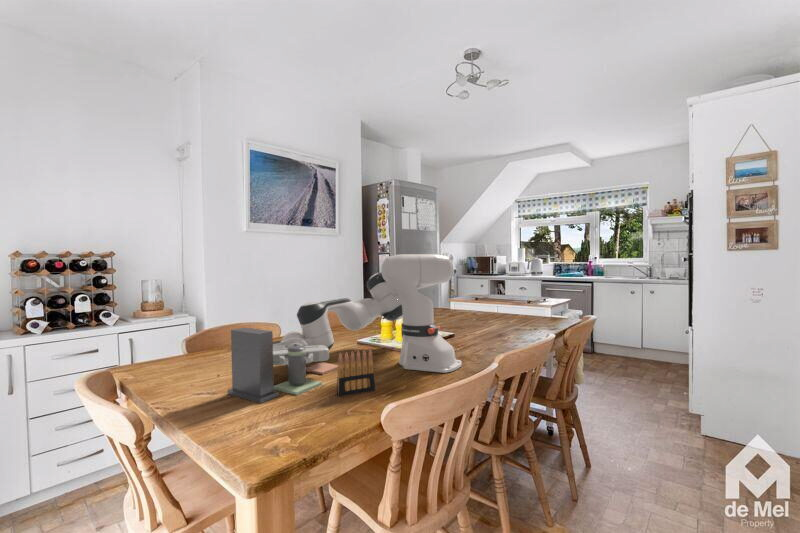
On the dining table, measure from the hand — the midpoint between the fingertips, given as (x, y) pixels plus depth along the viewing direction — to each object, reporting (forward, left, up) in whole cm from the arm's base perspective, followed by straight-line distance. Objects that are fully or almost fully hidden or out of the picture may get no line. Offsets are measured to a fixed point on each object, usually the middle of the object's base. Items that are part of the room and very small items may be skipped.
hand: (297, 361), depth 114 cm
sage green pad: (+1, -1, -8) cm, 8 cm away
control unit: (+7, +10, -8) cm, 15 cm away
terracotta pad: (+7, -18, -8) cm, 20 cm away
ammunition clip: (-17, -6, -8) cm, 20 cm away
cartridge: (+1, -1, -6) cm, 6 cm away
